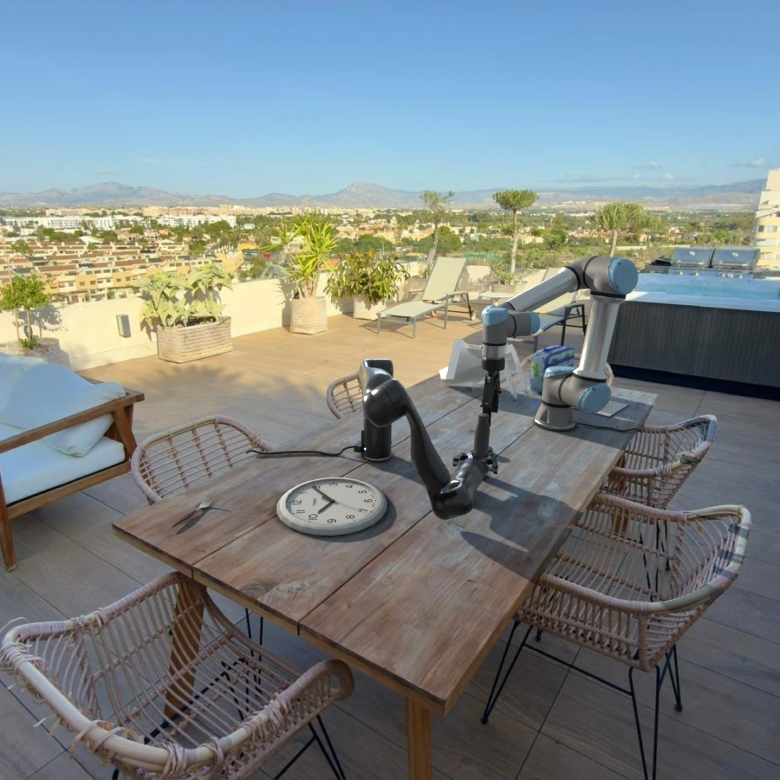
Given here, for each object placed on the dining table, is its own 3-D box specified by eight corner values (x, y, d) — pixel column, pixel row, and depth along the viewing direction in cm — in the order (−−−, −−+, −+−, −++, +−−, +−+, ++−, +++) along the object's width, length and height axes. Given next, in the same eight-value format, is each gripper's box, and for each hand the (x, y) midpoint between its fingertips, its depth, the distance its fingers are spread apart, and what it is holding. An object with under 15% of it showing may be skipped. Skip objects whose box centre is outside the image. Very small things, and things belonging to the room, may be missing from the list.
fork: (167, 528, 130) (166, 521, 130) (209, 498, 145) (208, 492, 144) (175, 530, 130) (174, 523, 129) (216, 500, 144) (216, 494, 143)
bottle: (483, 472, 164) (488, 411, 158) (488, 478, 160) (493, 417, 154) (469, 473, 163) (474, 412, 157) (474, 479, 159) (478, 417, 153)
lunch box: (546, 398, 236) (551, 353, 229) (525, 393, 243) (529, 349, 237) (573, 387, 253) (579, 344, 247) (553, 382, 260) (558, 341, 254)
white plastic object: (461, 429, 252) (437, 405, 227) (444, 352, 274) (420, 323, 250) (535, 404, 240) (518, 377, 215) (510, 326, 262) (492, 293, 237)
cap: (483, 449, 180) (484, 444, 180) (494, 453, 178) (495, 447, 177) (477, 453, 177) (477, 448, 176) (488, 457, 174) (488, 451, 174)
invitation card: (608, 416, 214) (573, 407, 224) (608, 416, 214) (573, 408, 224) (628, 404, 229) (594, 396, 238) (628, 405, 229) (594, 397, 238)
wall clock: (392, 527, 129) (268, 531, 127) (391, 533, 130) (269, 537, 127) (383, 473, 158) (282, 475, 155) (383, 478, 158) (282, 480, 156)
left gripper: (495, 468, 143) (506, 446, 158) (444, 459, 148) (460, 438, 163) (492, 493, 145) (504, 468, 160) (443, 483, 151) (459, 460, 166)
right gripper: (489, 347, 179) (486, 405, 186) (473, 365, 157) (470, 430, 164) (511, 349, 177) (507, 408, 183) (498, 367, 155) (494, 434, 161)
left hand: (482, 453), depth 162 cm, fingers open, 4 cm apart
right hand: (490, 419), depth 174 cm, fingers open, 13 cm apart
